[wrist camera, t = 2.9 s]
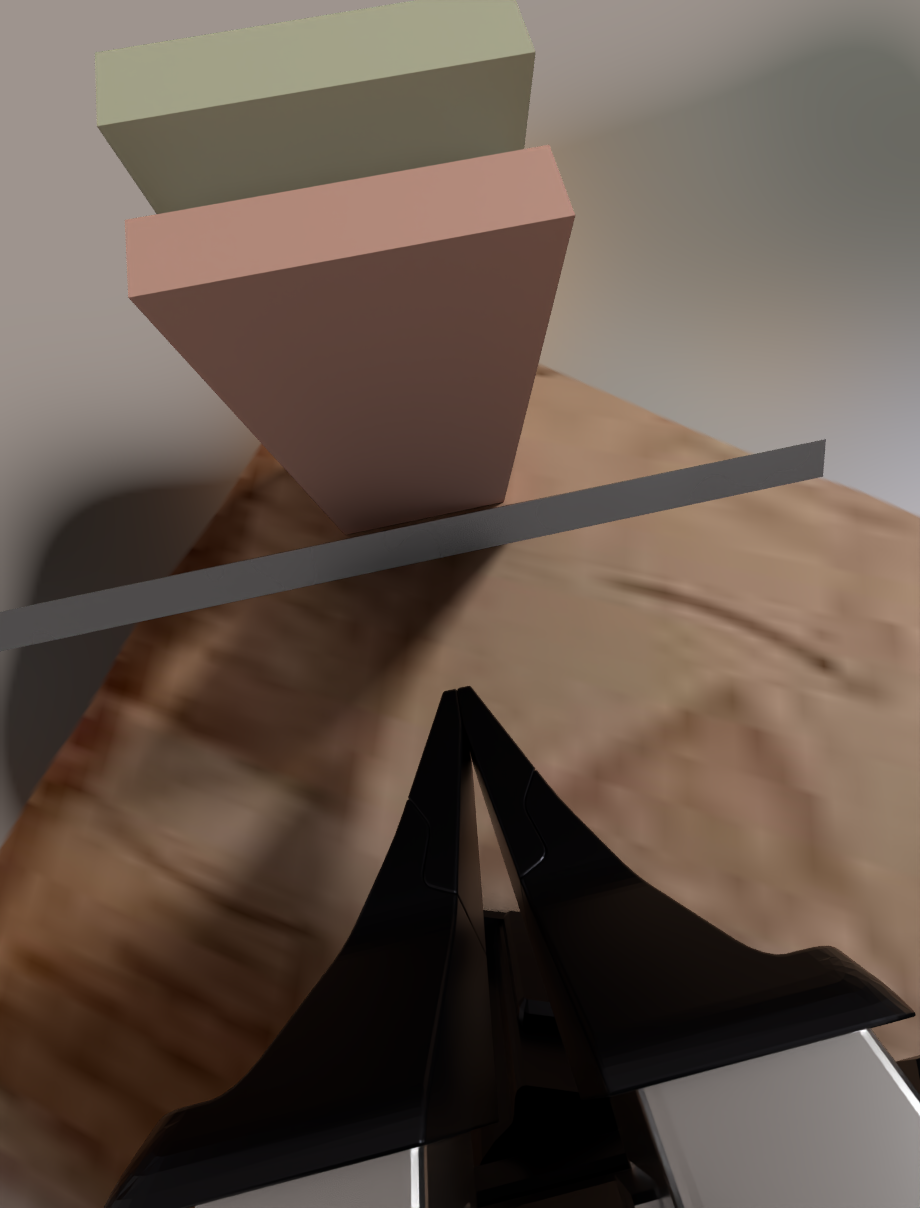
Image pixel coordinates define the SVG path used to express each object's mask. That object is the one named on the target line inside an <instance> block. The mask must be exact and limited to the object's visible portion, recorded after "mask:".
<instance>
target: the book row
mask: <svg viewBox="0 0 920 1208" xmlns="http://www.w3.org/2000/svg"><path fill="white" fill-rule="evenodd" d="M534 59H535V50H534V47H533V44H532V42H531V39H530V36H529V34H528V31H527V29H526V26H525V23H524V21H523V18H522V16H521V13H520V10H519V8H518V5H517V2H516V0H415V1H409V2H404V3H397V4H391V5H385V6H378V7H372V8H366V9H361V10H354V11H348V12H342V13H335V14H329V15H323V16H317V17H311V18H305V19H299V20H293V21H286V22H280V23H274V24H268V25H262V26H256V27H250V28H244V29H237V30H232V31H225V32H219V33H213V34H207V35H201V36H194V37H188V38H182V39H176V40H170V41H164V42H158V43H151V44H145V45H139V46H133V47H127V48H121V49H114V50H108V51H102V52H96V53H95V73H96V109H97V127H98V128H99V130H100V131H101V133H102V134H103V136H104V137H105V139H106V140H107V142H108V143H109V145H110V146H111V147H112V149H113V150H114V152H115V153H116V155H117V156H118V158H119V159H120V160H121V162H122V164H123V165H124V167H125V168H126V169H127V171H128V172H129V174H130V175H131V177H132V178H133V180H134V181H135V183H136V184H137V186H138V187H139V189H140V190H141V191H142V193H143V195H144V196H145V197H146V199H147V200H148V202H149V203H150V205H151V206H152V208H153V209H154V210H155V212H156V215H151V216H145V217H139V218H133V219H128V220H125V232H126V253H127V276H128V298H129V299H130V300H131V301H132V302H133V303H134V304H135V305H136V306H137V307H138V309H139V310H140V311H141V312H142V313H143V314H144V315H145V316H146V317H147V318H148V319H149V321H150V322H151V323H152V324H153V325H154V326H155V327H156V328H157V329H158V330H159V332H160V333H161V334H162V335H163V336H164V337H165V338H166V339H167V340H168V341H169V342H170V344H171V345H172V346H173V347H174V348H175V349H176V350H177V351H178V352H179V353H180V354H181V356H182V357H183V358H184V359H185V360H186V361H187V362H188V363H189V364H190V365H191V367H192V368H193V369H194V370H195V371H196V372H197V373H198V374H199V375H200V376H201V377H202V379H204V381H205V382H206V383H207V384H208V385H209V386H210V387H211V388H212V390H213V391H214V392H215V393H216V394H217V395H218V396H219V397H220V398H221V399H222V400H223V402H225V404H226V405H227V406H228V407H229V408H230V409H231V410H232V411H233V412H234V414H235V415H236V416H237V417H238V418H239V419H240V420H241V421H242V422H243V423H244V425H245V426H246V427H247V428H248V429H249V430H250V431H251V432H252V433H253V434H254V435H255V437H256V438H257V439H258V440H259V441H260V442H261V443H262V444H263V445H264V446H265V448H266V449H267V450H268V451H269V452H270V453H271V454H272V455H273V456H274V457H275V458H276V460H277V461H278V462H279V463H280V464H281V465H282V466H283V467H284V468H285V469H286V470H287V472H288V473H289V474H290V475H291V476H292V477H293V478H294V479H295V480H296V481H297V483H298V484H299V485H300V486H301V487H302V488H303V489H304V490H305V491H306V492H307V493H308V495H309V496H310V497H311V498H312V499H313V500H314V501H315V502H316V503H317V504H318V506H319V507H320V508H321V509H322V510H323V511H324V512H325V513H326V514H327V515H328V516H329V518H330V519H331V520H332V521H333V522H334V523H335V524H336V525H337V526H338V527H339V528H340V530H341V531H342V532H343V533H344V534H345V535H347V534H352V533H357V532H361V531H366V530H371V529H376V528H381V527H385V526H390V525H395V524H400V523H405V522H409V521H414V520H419V519H424V518H428V517H433V516H438V515H443V514H448V513H452V512H457V511H462V510H467V509H472V508H476V507H481V506H486V505H491V504H496V503H500V502H504V499H505V495H506V491H507V487H508V483H509V479H510V475H511V471H512V467H513V463H514V459H515V455H516V451H517V447H518V443H519V439H520V435H521V431H522V427H523V423H524V419H525V415H526V411H527V407H528V403H529V399H530V395H531V391H532V387H533V383H534V379H535V375H536V371H537V367H538V363H539V359H540V355H541V351H542V346H543V343H544V338H545V335H546V330H547V327H548V323H549V318H550V315H551V311H552V307H553V303H554V299H555V294H556V291H557V286H558V282H559V278H560V274H561V270H562V266H563V262H564V258H565V254H566V250H567V246H568V242H569V238H570V234H571V230H572V226H573V222H574V218H575V213H574V210H573V207H572V205H571V202H570V199H569V197H568V194H567V191H566V188H565V186H564V183H563V180H562V178H561V175H560V172H559V169H558V167H557V164H556V161H555V158H554V156H553V153H552V150H551V148H550V145H545V146H539V147H534V148H527V149H524V145H525V136H526V128H527V119H528V110H529V102H530V94H531V85H532V77H533V68H534Z"/></svg>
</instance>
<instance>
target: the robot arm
mask: <svg viewBox="0 0 920 1208" xmlns="http://www.w3.org/2000/svg"><path fill="white" fill-rule="evenodd" d="M471 758H472V760H471ZM472 762H473V765H474V769H475V772H476V775H477V778H478V781H479V784H480V787H481V790H482V794H483V797H484V800H485V803H486V806H487V809H488V812H489V815H490V818H491V822H492V825H493V828H494V831H495V834H496V837H497V840H498V843H499V846H500V849H501V853H502V856H503V859H504V862H505V865H506V868H507V871H508V874H509V877H510V881H511V884H512V887H513V890H514V893H515V896H516V899H517V902H518V905H519V908H520V912H515V911H509V912H508V913H503V912H494V911H486V910H483V903H482V890H481V876H480V863H479V850H478V836H477V823H476V809H475V796H474V783H473V769H472ZM408 798H409V800H407V802H406V805H405V808H404V811H403V814H402V817H401V820H400V822H399V825H398V828H397V831H396V833H395V836H394V839H393V841H392V843H391V846H390V848H389V850H388V853H387V855H386V857H385V860H384V862H383V864H382V866H381V869H380V871H379V873H378V875H377V878H376V880H375V882H374V884H373V886H372V889H371V891H370V893H369V895H368V897H367V900H366V902H365V904H364V906H363V909H362V911H361V913H360V915H359V917H358V920H357V922H356V924H355V926H354V928H353V930H352V932H351V934H350V936H349V938H348V940H347V941H346V943H345V945H344V946H343V948H342V950H341V951H340V953H339V954H338V956H337V957H336V959H335V960H334V962H333V963H332V964H331V966H330V967H329V968H328V970H327V971H326V972H325V974H324V975H323V976H322V977H321V979H320V980H319V981H318V983H317V984H316V985H315V987H314V988H313V989H312V991H311V992H310V993H309V995H308V996H307V997H306V999H305V1000H304V1001H303V1003H302V1004H301V1005H300V1006H299V1008H298V1009H297V1010H296V1012H295V1013H294V1014H293V1016H292V1017H291V1018H290V1020H289V1021H288V1022H287V1024H286V1025H285V1026H284V1028H283V1029H282V1030H281V1032H280V1033H279V1034H278V1035H277V1037H276V1038H275V1039H274V1041H273V1042H272V1043H271V1045H270V1046H269V1047H268V1049H267V1050H266V1051H265V1053H264V1054H263V1055H262V1057H261V1058H260V1059H259V1060H258V1062H257V1063H256V1064H255V1065H254V1066H253V1067H252V1069H251V1070H250V1071H249V1072H248V1073H247V1074H246V1075H245V1076H244V1077H243V1078H242V1079H241V1080H240V1081H239V1082H238V1083H237V1084H236V1085H235V1086H234V1087H232V1088H231V1089H229V1090H228V1091H227V1092H225V1093H224V1094H223V1095H221V1096H219V1097H217V1098H215V1099H213V1100H210V1101H206V1102H202V1103H198V1104H194V1105H190V1106H187V1107H183V1108H180V1109H177V1110H174V1111H172V1112H170V1113H168V1114H166V1115H164V1116H163V1117H162V1118H161V1119H160V1120H159V1122H158V1123H157V1124H156V1126H155V1127H154V1129H153V1130H152V1132H151V1133H150V1134H149V1136H148V1137H147V1139H146V1140H145V1142H144V1143H143V1145H142V1146H141V1148H140V1149H139V1150H138V1152H137V1153H136V1155H135V1156H134V1158H133V1159H132V1161H131V1163H130V1164H129V1166H128V1167H127V1169H126V1170H125V1172H124V1173H123V1174H122V1176H121V1178H120V1179H119V1181H118V1183H117V1185H116V1186H115V1188H114V1190H113V1191H112V1193H111V1195H110V1196H109V1199H108V1201H107V1203H106V1204H105V1206H104V1208H190V1207H194V1206H195V1208H920V1055H919V1056H915V1057H911V1058H907V1059H904V1060H900V1061H895V1060H894V1059H893V1057H892V1056H891V1055H890V1053H889V1052H888V1051H887V1049H886V1048H885V1046H884V1045H883V1044H882V1042H881V1041H880V1040H879V1038H878V1037H877V1036H876V1034H875V1033H874V1032H873V1030H872V1029H871V1028H873V1027H877V1026H881V1025H885V1024H888V1023H892V1022H896V1021H900V1020H903V1019H907V1018H910V1017H914V1016H915V1012H914V1011H913V1010H912V1009H911V1008H910V1007H909V1006H908V1005H907V1004H906V1003H905V1002H904V1001H903V1000H902V999H901V998H900V997H899V996H898V995H897V994H896V993H895V992H893V991H892V990H891V989H890V988H889V987H887V986H886V985H885V984H884V983H883V982H881V981H880V980H879V979H877V978H876V977H875V976H873V975H872V974H871V973H869V972H868V971H867V970H865V969H864V968H863V967H861V966H860V965H859V964H857V963H856V962H855V961H853V960H852V959H850V958H849V957H848V956H847V955H845V954H844V953H843V952H841V951H840V950H838V949H837V948H835V947H832V946H818V947H812V948H808V949H803V950H799V951H795V952H791V953H787V954H776V955H775V954H770V953H765V952H761V951H758V950H756V949H753V948H751V947H748V946H746V945H744V944H743V943H741V942H739V941H737V940H735V939H734V938H732V937H731V936H729V935H728V934H726V933H725V932H723V931H721V930H720V929H718V928H717V927H715V926H714V925H712V924H711V923H709V922H708V921H706V920H704V919H703V918H701V917H700V916H698V915H697V914H695V913H694V912H692V911H690V910H689V909H687V908H686V907H684V906H683V905H681V904H680V903H678V902H676V901H675V900H673V899H672V898H670V897H669V896H667V895H666V894H664V893H663V892H661V891H659V890H658V889H656V888H655V887H653V886H652V885H650V884H649V883H647V882H646V881H644V880H643V879H642V878H641V877H639V876H638V875H637V874H636V873H634V872H633V871H632V870H631V869H630V868H629V867H628V866H626V865H625V864H624V863H623V862H622V861H621V860H620V859H619V858H618V857H617V856H616V855H615V854H614V853H613V852H612V851H611V850H610V849H609V848H608V847H607V846H606V845H605V844H604V843H603V842H602V841H601V840H600V839H599V838H598V837H597V836H596V835H595V834H594V833H593V832H592V831H591V830H590V829H589V828H588V827H587V826H586V825H585V824H584V823H583V822H582V821H581V820H580V819H579V818H578V817H577V816H576V815H575V814H574V813H573V812H572V811H571V810H570V808H569V807H568V806H567V805H566V804H565V803H564V802H563V801H562V800H561V799H560V798H559V797H558V796H557V794H556V793H555V792H554V791H553V790H552V788H551V787H550V786H549V785H548V784H547V782H546V781H545V780H544V779H543V777H542V776H541V775H540V774H539V772H538V771H537V770H535V767H534V766H533V765H532V764H531V762H530V761H529V760H528V759H527V757H526V756H525V755H524V753H523V752H522V751H521V750H520V748H519V747H518V746H517V745H516V743H515V742H514V741H513V739H512V738H511V737H510V736H509V734H508V733H507V732H506V731H505V729H504V728H503V727H502V725H501V724H500V723H499V722H498V720H497V719H496V718H495V717H494V715H493V714H492V713H491V711H490V710H489V709H488V708H487V706H486V705H485V704H484V703H483V701H482V700H481V699H480V698H479V696H478V695H477V694H476V692H475V691H474V690H473V689H472V687H470V686H466V687H461V688H458V690H456V689H452V690H448V691H444V692H443V694H442V697H441V700H440V703H439V706H438V709H437V712H436V715H435V718H434V721H433V724H432V727H431V730H430V733H429V736H428V739H427V742H426V745H425V748H424V751H423V754H422V757H421V760H420V763H419V766H418V769H417V772H416V775H415V778H414V781H413V784H412V787H411V790H410V793H409V796H408Z"/></svg>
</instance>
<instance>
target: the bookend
mask: <svg viewBox="0 0 920 1208" xmlns="http://www.w3.org/2000/svg"><path fill="white" fill-rule="evenodd" d="M825 442H826V440H821V441H815V442H811V443H806V444H801V445H796V446H791V447H786V448H782V449H777V450H772V451H767V452H762V453H757V454H753V455H748V456H743V457H738V458H733V459H728V460H724V461H719V462H714V463H709V464H704V465H699V466H695V467H690V468H685V469H680V470H675V471H670V472H666V473H661V474H656V475H651V476H646V477H641V478H637V479H632V480H627V481H622V482H617V483H612V484H608V485H603V486H598V487H593V488H588V489H583V490H579V491H574V492H569V493H564V494H559V495H554V496H550V497H545V498H540V499H535V500H530V501H525V502H521V503H516V504H511V505H506V506H502V507H497V508H492V509H487V510H482V511H478V512H473V513H468V514H463V515H459V516H454V517H449V518H444V519H439V520H435V521H430V522H425V523H420V524H415V525H411V526H406V527H401V528H396V529H392V530H387V531H382V532H377V533H372V534H368V535H363V536H358V537H353V538H349V539H344V540H339V541H334V542H329V543H325V544H320V545H315V546H310V547H306V548H301V549H296V550H291V551H287V552H282V553H277V554H272V555H268V556H263V557H258V558H253V559H249V560H244V561H239V562H235V563H230V564H225V565H220V566H216V567H211V568H206V569H201V570H197V571H192V572H187V573H182V574H178V575H173V576H168V577H163V578H159V579H154V580H150V581H144V582H140V583H135V584H130V585H126V586H121V587H116V588H112V589H107V590H102V591H97V592H92V593H88V594H83V595H78V596H74V597H69V598H64V599H59V600H54V601H50V602H45V603H40V604H36V605H31V606H26V607H21V608H17V609H12V610H7V611H3V612H0V651H4V650H8V649H13V648H18V647H23V646H28V645H32V644H37V643H41V642H47V641H51V640H56V639H61V638H65V637H70V636H75V635H80V634H84V633H89V632H94V631H98V630H103V629H108V628H112V627H117V626H122V625H127V624H131V623H136V622H141V621H145V620H150V619H155V618H160V617H164V616H169V615H174V614H178V613H183V612H188V611H192V610H197V609H202V608H207V607H211V606H216V605H221V604H225V603H230V602H235V601H240V600H244V599H249V598H254V597H258V596H263V595H268V594H272V593H277V592H282V591H287V590H291V589H296V588H301V587H305V586H310V585H315V584H320V583H324V582H329V581H334V580H338V579H343V578H348V577H352V576H357V575H362V574H367V573H371V572H376V571H381V570H385V569H390V568H395V567H400V566H404V565H409V564H414V563H418V562H423V561H428V560H432V559H437V558H442V557H447V556H451V555H456V554H461V553H465V552H470V551H475V550H480V549H484V548H489V547H494V546H498V545H503V544H508V543H512V542H517V541H522V540H527V539H531V538H536V537H541V536H545V535H550V534H555V533H559V532H564V531H569V530H574V529H578V528H583V527H588V526H592V525H597V524H602V523H607V522H611V521H616V520H621V519H625V518H630V517H635V516H639V515H644V514H649V513H654V512H658V511H663V510H668V509H672V508H677V507H682V506H687V505H691V504H696V503H701V502H705V501H710V500H715V499H719V498H724V497H729V496H734V495H738V494H743V493H748V492H752V491H757V490H762V489H767V488H771V487H776V486H781V485H785V484H790V483H795V482H799V481H804V480H809V479H814V478H818V477H823V467H824V454H825Z"/></svg>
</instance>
